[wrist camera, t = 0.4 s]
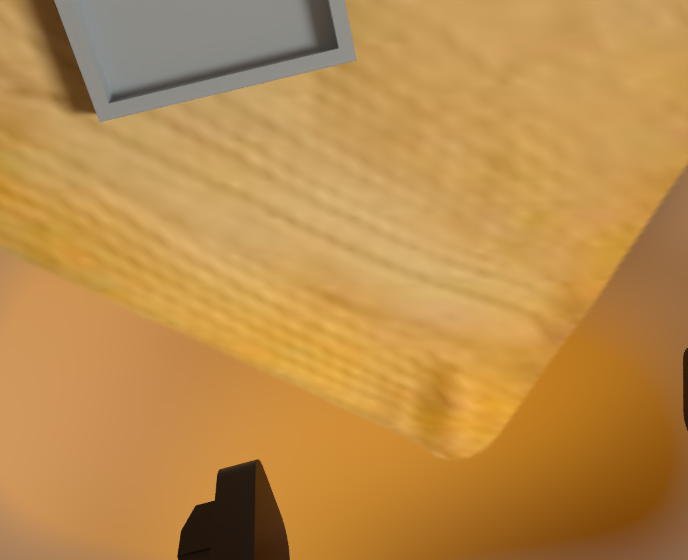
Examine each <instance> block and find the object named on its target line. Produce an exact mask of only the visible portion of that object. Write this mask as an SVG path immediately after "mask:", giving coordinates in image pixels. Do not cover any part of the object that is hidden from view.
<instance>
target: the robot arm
mask: <svg viewBox="0 0 688 560" xmlns="http://www.w3.org/2000/svg"><path fill="white" fill-rule="evenodd" d="M683 405H684V406H683V412H684V420H685V424H686V427H687V430H688V348H687V349H686V350H685V352H684V356H683ZM177 557H178V560H290V558H289V557H290V556H289V546H288V540H287V535H286V530H285V526H284V523H283V519H282V516H281V514H280V511H279V508H278V506H277V503H276V500H275V498H274V495H273V492H272V490H271V487H270V484H269V482H268V479H267V476H266V474H265V471H264V468H263V466H262V464H261V462H260V461H259V460H258V459H257V460H254V461H250V462H246V463H242V464H238V465H235V466H231V467H227V468H224V469H220V470H219V471H218V474H217V483H216V494H215V501H211V502H208V503H204V504H200V505H196V506H195V508H194V510H193V511H192V513H191V515H190V516H189V518H188V520H187V522H186V523H185V525H184V527H183V528H182V530H181V535H180V542H179V549H178V556H177Z"/></svg>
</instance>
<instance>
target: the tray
mask: <svg viewBox="0 0 688 560" xmlns="http://www.w3.org/2000/svg"><path fill="white" fill-rule="evenodd" d="M54 1H55V4H56V7H57V9H58V12H59V15H60V17H61V20H62V23H63V25H64V28H65V31H66V34H67V36H68V39H69V42H70V44H71V47H72V50H73V52H74V55H75V58H76V60H77V63H78V66H79V68H80V71H81V74H82V76H83V79H84V82H85V84H86V87H87V90H88V93H89V95H90V98H91V101H92V103H93V106H94V109H95V111H96V114H97V117H98V119H99V122H103V121H107V120H111V119H115V118H119V117H123V116H128V115H132V114H136V113H140V112H144V111H148V110H152V109H157V108H161V107H165V106H169V105H173V104H177V103H182V102H186V101H190V100H194V99H198V98H202V97H207V96H211V95H215V94H219V93H223V92H227V91H232V90H236V89H240V88H244V87H248V86H252V85H256V84H261V83H265V82H269V81H273V80H277V79H281V78H286V77H290V76H294V75H298V74H302V73H306V72H311V71H315V70H319V69H323V68H327V67H331V66H336V65H340V64H344V63H348V62H352V61H356V60H357V59H356V54H355V49H354V44H353V39H352V34H351V29H350V24H349V19H348V14H347V9H346V4H345V0H54Z"/></svg>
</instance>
